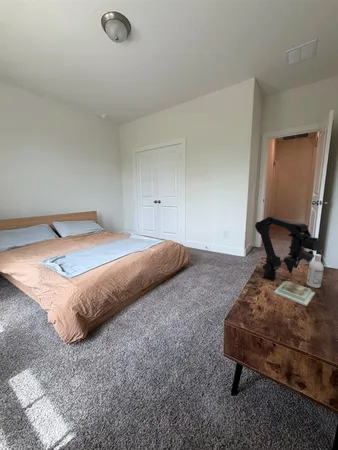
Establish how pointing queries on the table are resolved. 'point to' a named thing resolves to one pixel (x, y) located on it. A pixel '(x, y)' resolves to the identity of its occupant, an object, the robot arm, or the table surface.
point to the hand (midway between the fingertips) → (293, 270)
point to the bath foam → (315, 272)
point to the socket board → (294, 297)
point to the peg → (294, 288)
